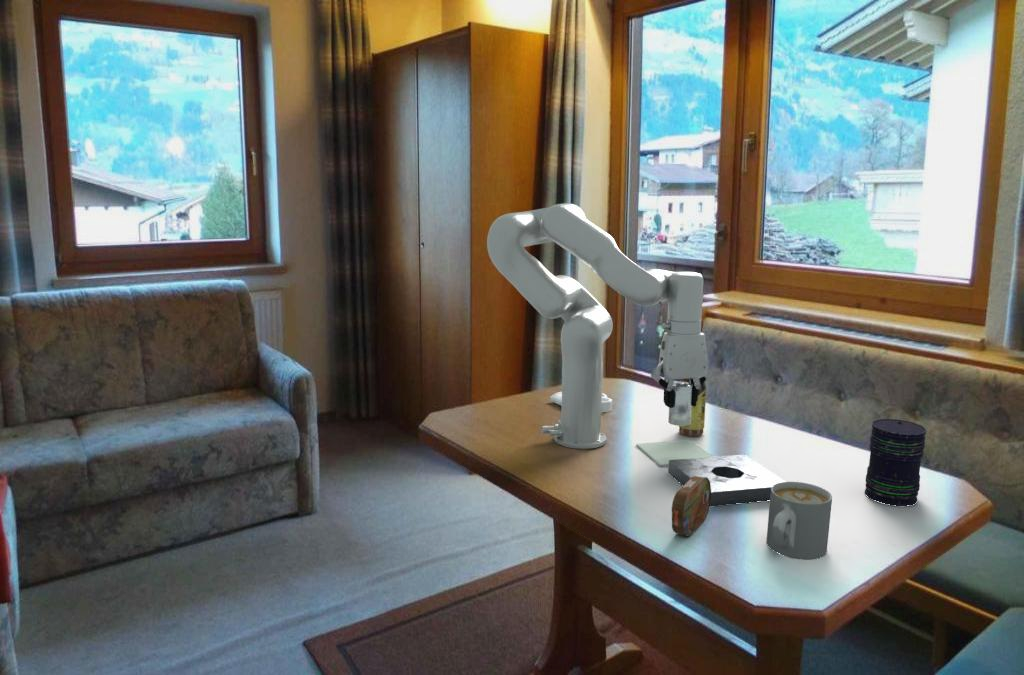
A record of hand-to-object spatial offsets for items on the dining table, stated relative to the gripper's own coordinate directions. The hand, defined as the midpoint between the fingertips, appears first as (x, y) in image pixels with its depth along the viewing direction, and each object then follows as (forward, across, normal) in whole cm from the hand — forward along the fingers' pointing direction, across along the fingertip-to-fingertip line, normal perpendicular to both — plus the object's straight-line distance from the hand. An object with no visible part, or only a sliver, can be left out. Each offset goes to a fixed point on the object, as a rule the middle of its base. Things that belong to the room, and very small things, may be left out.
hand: (680, 404), depth 181 cm
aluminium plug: (+4, 0, 0) cm, 4 cm away
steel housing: (+12, +2, -20) cm, 23 cm away
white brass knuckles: (+12, -9, +42) cm, 45 cm away
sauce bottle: (+12, +10, +13) cm, 20 cm away
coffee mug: (+12, -1, -48) cm, 49 cm away
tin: (+12, -14, -36) cm, 40 cm away
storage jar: (+13, +32, -32) cm, 47 cm away
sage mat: (+12, 0, 0) cm, 12 cm away
